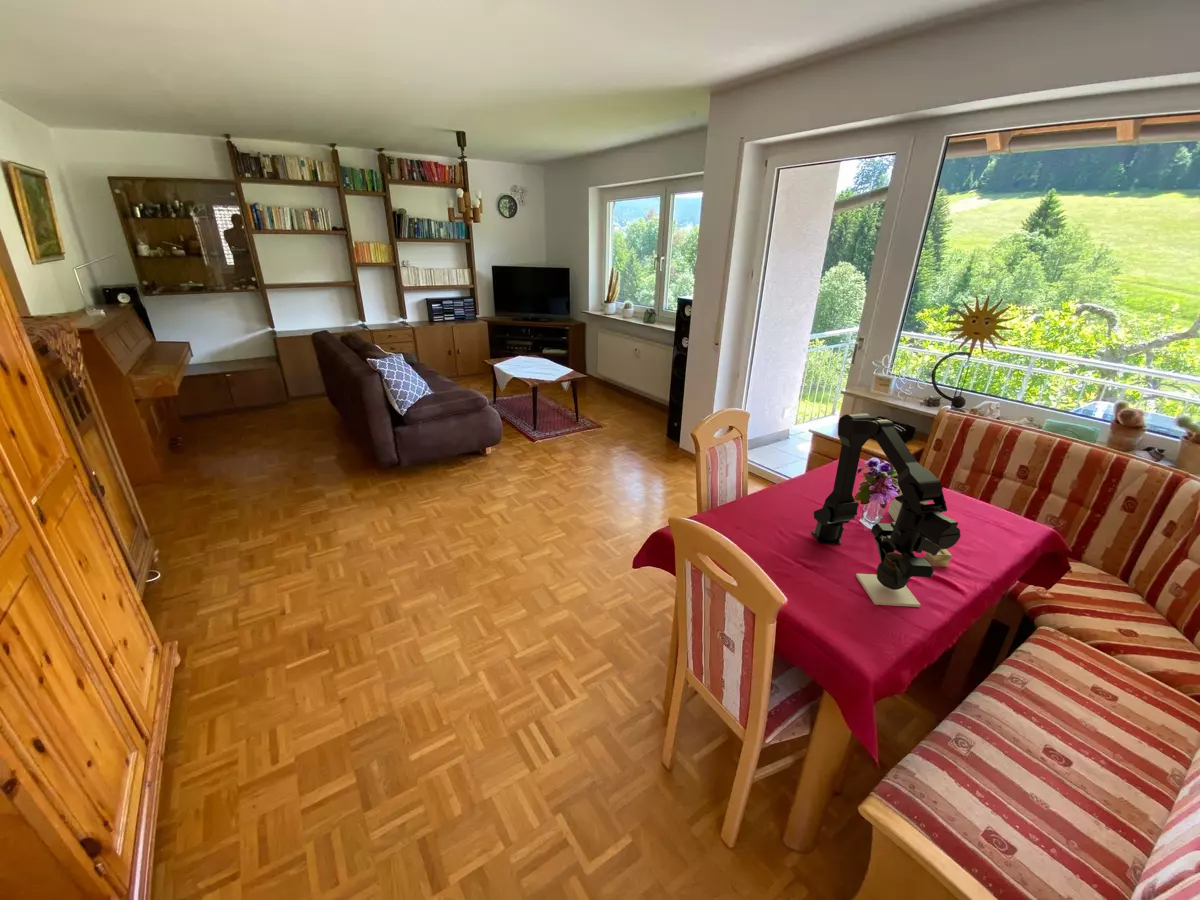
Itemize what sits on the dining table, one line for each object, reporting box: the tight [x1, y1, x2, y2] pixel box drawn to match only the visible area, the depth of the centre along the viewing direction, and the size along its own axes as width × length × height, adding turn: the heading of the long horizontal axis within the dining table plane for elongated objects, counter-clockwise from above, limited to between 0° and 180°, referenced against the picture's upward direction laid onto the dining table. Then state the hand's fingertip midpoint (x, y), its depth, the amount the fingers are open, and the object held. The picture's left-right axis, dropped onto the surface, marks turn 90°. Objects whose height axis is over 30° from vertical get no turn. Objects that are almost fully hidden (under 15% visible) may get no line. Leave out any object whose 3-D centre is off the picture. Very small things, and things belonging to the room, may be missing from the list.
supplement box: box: [888, 481, 929, 522], centre depth 157 cm, size 7×7×13 cm
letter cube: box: [924, 549, 953, 568], centre depth 138 cm, size 4×4×4 cm
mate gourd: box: [875, 548, 910, 590], centre depth 124 cm, size 7×8×10 cm
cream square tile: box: [855, 573, 921, 608], centre depth 127 cm, size 11×11×1 cm
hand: (891, 575), depth 125 cm, fingers closed on mate gourd, 7 cm apart
